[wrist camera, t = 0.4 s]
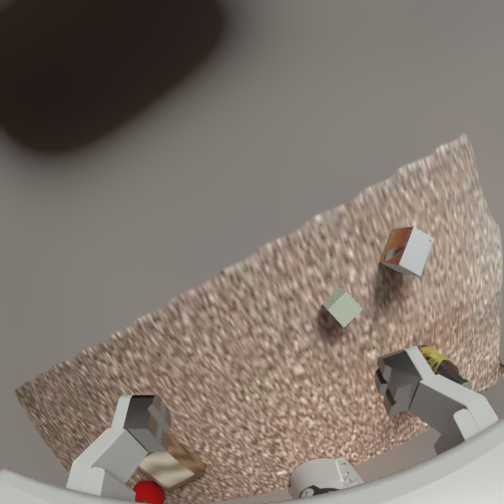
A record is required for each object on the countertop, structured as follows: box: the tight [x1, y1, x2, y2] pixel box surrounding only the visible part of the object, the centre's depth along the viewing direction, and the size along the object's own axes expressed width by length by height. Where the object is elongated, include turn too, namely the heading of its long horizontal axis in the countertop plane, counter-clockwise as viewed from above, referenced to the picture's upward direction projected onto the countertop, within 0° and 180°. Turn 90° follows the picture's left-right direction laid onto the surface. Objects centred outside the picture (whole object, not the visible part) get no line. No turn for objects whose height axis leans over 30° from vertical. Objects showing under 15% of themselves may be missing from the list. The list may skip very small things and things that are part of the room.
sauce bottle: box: [418, 345, 471, 390], centre depth 50 cm, size 7×6×20 cm
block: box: [322, 287, 363, 327], centre depth 58 cm, size 5×5×6 cm
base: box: [138, 433, 206, 492], centre depth 61 cm, size 14×14×5 cm
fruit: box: [133, 481, 164, 504], centre depth 59 cm, size 9×9×10 cm
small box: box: [379, 227, 435, 277], centre depth 54 cm, size 8×6×10 cm
